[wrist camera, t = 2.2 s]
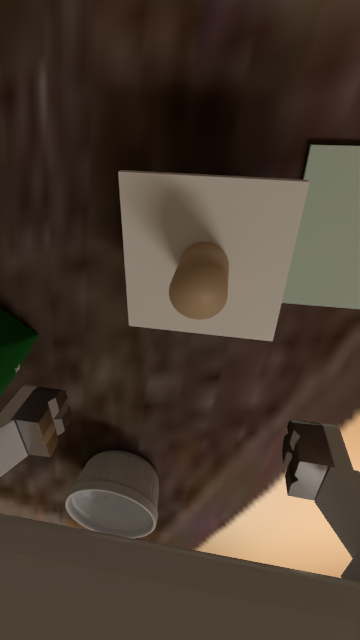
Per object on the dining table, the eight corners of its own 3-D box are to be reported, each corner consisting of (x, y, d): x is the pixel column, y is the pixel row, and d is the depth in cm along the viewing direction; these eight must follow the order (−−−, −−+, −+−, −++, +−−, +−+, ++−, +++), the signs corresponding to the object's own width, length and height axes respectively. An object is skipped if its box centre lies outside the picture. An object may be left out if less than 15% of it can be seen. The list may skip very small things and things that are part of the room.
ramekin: (182, 479, 49) (175, 528, 43) (128, 501, 55) (115, 546, 49) (119, 432, 45) (102, 478, 39) (68, 461, 51) (46, 505, 45)
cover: (121, 170, 21) (91, 183, 17) (307, 179, 20) (328, 196, 15) (131, 320, 27) (111, 359, 23) (271, 335, 26) (278, 379, 22)
